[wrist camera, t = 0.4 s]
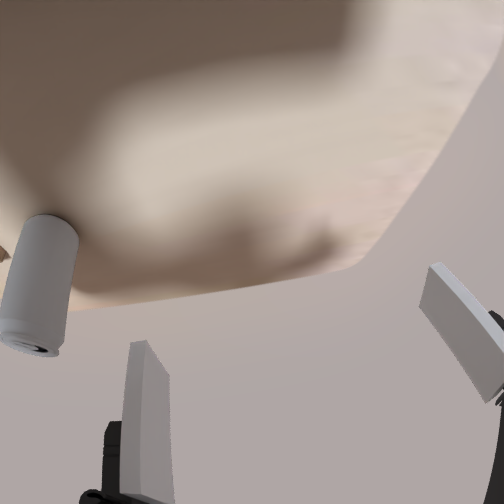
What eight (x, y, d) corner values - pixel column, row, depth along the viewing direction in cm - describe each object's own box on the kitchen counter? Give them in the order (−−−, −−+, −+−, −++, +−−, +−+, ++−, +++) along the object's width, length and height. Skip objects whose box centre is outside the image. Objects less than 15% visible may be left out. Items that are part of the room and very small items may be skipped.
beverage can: (67, 255, 28) (52, 362, 22) (18, 233, 24) (-8, 344, 17) (91, 227, 25) (73, 352, 19) (35, 199, 21) (-2, 329, 14)
